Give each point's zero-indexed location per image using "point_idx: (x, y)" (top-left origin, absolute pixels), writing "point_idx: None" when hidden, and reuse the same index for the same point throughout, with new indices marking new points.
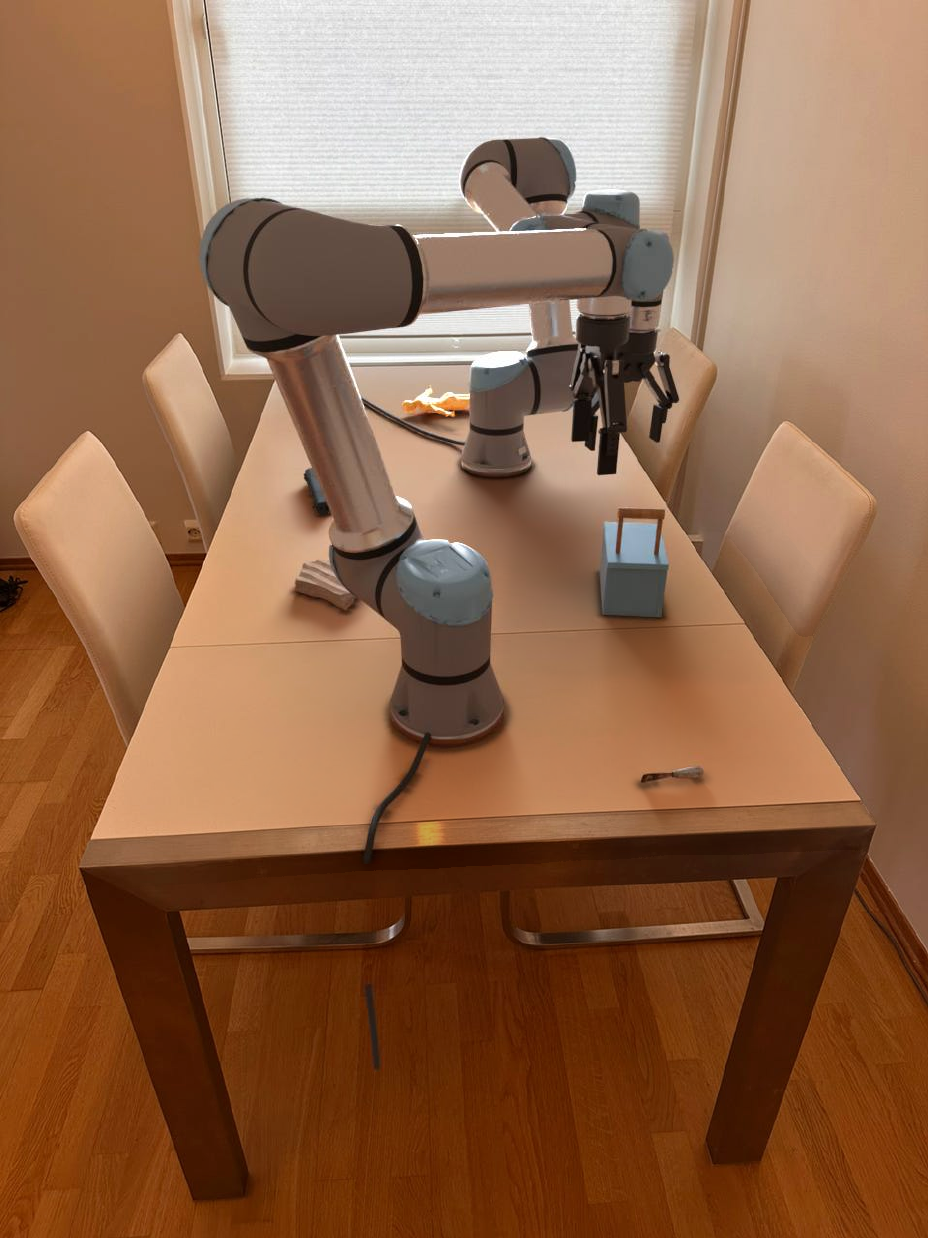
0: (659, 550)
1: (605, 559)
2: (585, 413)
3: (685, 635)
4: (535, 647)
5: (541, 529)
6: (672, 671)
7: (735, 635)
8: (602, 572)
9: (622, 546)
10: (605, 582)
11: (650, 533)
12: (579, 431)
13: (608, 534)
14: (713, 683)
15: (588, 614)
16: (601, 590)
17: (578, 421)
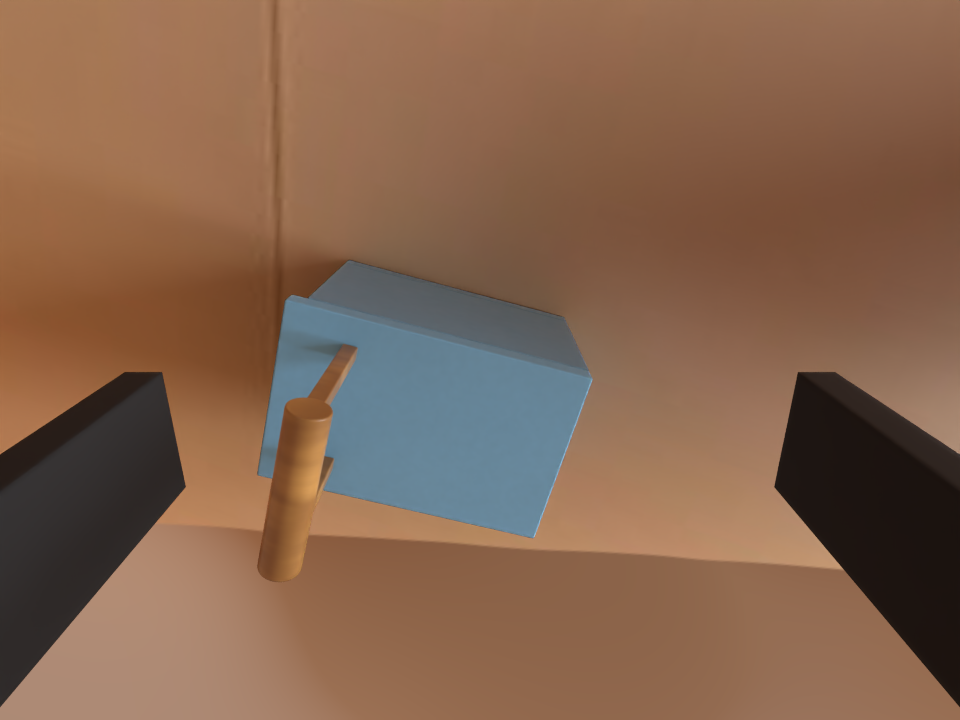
0: (350, 479)
1: (393, 313)
2: (938, 611)
3: (240, 420)
4: (193, 14)
5: (886, 225)
6: (88, 342)
7: (235, 516)
8: (466, 307)
9: (394, 381)
10: (325, 282)
11: (472, 491)
12: (834, 459)
13: (490, 363)
14: (47, 409)
15: (356, 222)
16: (451, 290)
17: (895, 498)
